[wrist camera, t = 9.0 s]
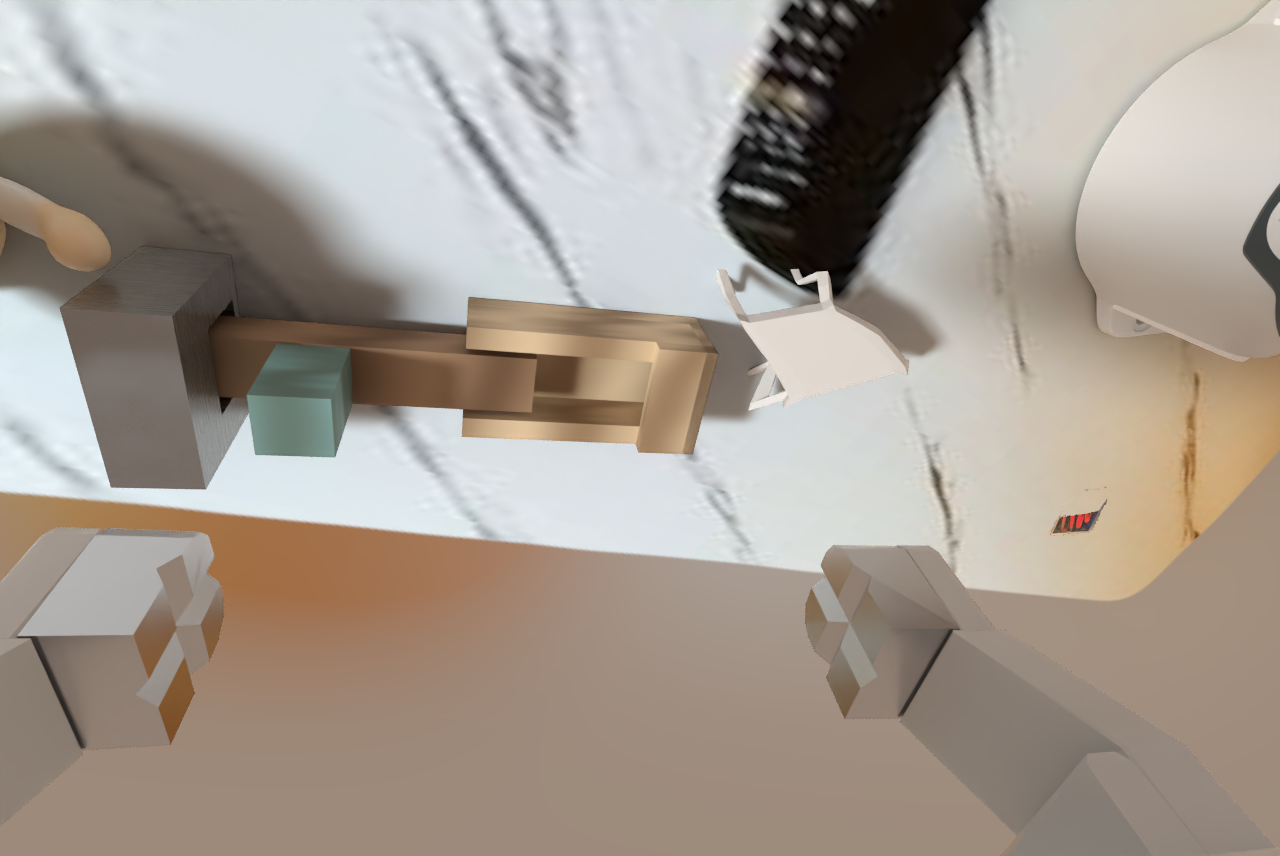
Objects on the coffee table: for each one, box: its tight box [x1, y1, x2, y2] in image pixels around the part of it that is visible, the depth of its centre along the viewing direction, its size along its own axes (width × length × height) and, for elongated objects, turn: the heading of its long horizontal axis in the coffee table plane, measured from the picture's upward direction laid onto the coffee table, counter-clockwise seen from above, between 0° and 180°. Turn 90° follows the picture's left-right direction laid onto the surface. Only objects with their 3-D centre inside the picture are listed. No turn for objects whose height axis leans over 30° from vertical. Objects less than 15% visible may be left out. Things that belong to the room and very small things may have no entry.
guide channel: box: [462, 297, 718, 454], centre depth 35 cm, size 12×6×4 cm, turn 80°
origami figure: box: [716, 269, 909, 411], centre depth 36 cm, size 12×8×5 cm
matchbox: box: [1050, 487, 1107, 536], centre depth 52 cm, size 5×5×1 cm
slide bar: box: [208, 315, 537, 457], centre depth 30 cm, size 16×3×7 cm, turn 80°
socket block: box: [60, 246, 249, 489], centre depth 29 cm, size 4×8×7 cm, turn 170°
